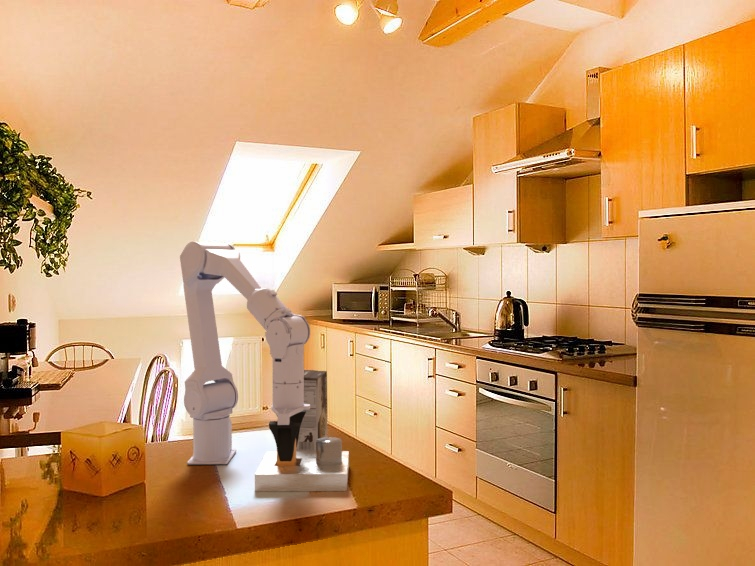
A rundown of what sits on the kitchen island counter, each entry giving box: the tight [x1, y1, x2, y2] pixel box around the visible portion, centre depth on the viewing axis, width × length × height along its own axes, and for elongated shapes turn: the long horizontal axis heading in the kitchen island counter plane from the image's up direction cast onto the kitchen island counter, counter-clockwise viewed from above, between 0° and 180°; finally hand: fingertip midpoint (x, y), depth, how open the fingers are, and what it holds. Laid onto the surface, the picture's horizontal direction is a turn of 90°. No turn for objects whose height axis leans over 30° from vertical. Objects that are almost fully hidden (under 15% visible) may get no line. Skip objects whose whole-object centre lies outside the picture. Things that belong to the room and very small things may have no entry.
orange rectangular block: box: [276, 439, 296, 466], centre depth 119 cm, size 3×3×7 cm
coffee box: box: [296, 369, 328, 451], centre depth 140 cm, size 9×6×16 cm
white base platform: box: [254, 436, 350, 492], centre depth 120 cm, size 14×16×7 cm
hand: (288, 454), depth 119 cm, fingers open, 7 cm apart
